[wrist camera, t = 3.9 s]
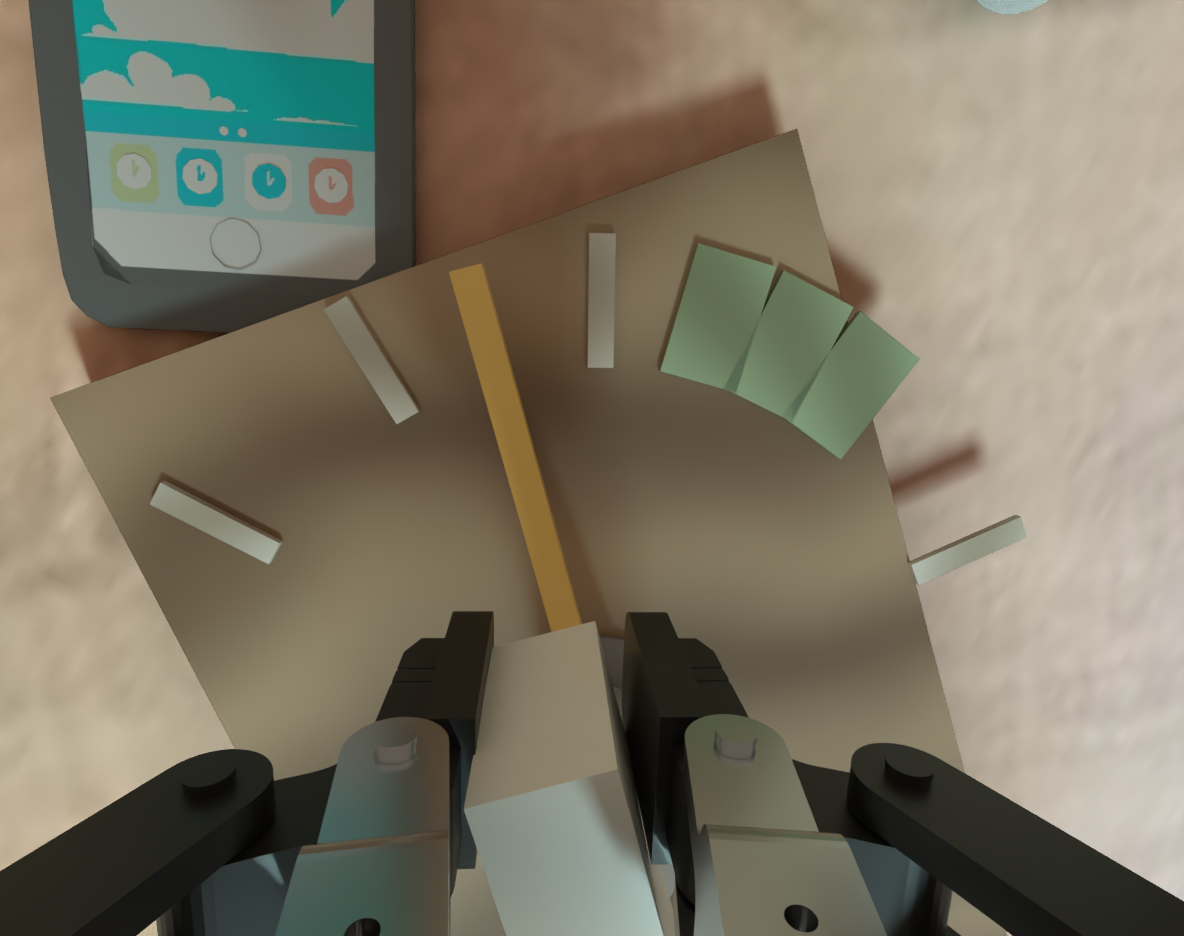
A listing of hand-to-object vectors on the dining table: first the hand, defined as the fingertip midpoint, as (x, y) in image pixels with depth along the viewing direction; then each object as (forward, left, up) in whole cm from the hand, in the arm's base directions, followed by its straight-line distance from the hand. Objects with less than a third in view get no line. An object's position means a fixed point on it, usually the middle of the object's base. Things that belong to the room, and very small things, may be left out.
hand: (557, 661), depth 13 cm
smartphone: (+15, +2, -7) cm, 17 cm away
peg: (-1, 0, -4) cm, 4 cm away
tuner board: (-4, -1, -6) cm, 8 cm away
